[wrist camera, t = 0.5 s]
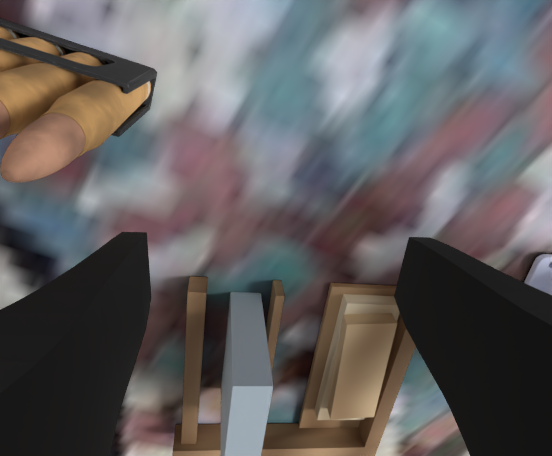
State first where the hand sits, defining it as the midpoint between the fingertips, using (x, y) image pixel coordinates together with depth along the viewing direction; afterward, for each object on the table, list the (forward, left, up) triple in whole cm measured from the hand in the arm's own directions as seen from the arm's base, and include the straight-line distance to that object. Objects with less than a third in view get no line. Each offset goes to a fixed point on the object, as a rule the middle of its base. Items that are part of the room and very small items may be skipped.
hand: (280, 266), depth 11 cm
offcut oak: (-8, +13, -9) cm, 17 cm away
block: (0, +12, -10) cm, 16 cm away
